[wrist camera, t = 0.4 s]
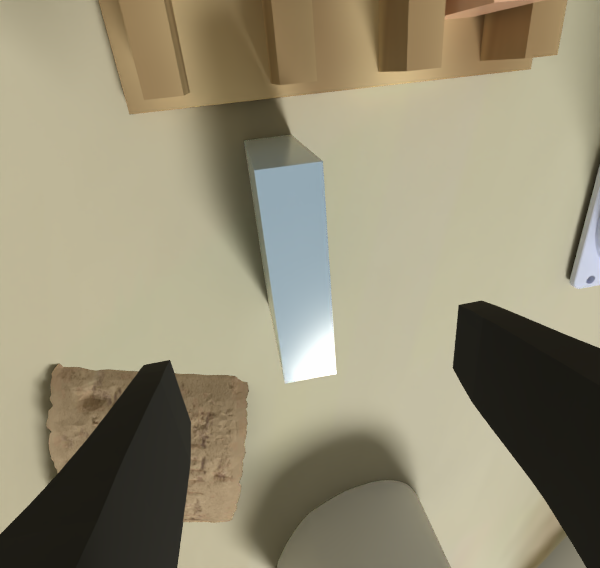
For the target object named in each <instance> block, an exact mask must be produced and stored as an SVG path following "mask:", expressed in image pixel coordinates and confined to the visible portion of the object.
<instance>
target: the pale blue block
mask: <svg viewBox="0 0 600 568" xmlns="http://www.w3.org/2000/svg"><path fill="white" fill-rule="evenodd" d="M244 146H245V152H246V159H247V165H248V172H249V178H250V185H251V192H252V198H253V205H254V211H255V218H256V224H257V231H258V238H259V244H260V251H261V257H262V264H263V271H264V277H265V284H266V290H267V297H268V303H269V309H270V313H271V318H272V323H273V328H274V333H275V338H276V342H277V347H278V352H279V357H280V362H281V367H282V371H283V376H284V381H285V383H290V382H296V381H301V380H306V379H311V378H316V377H322V376H327V375H332V374H336V362H335V346H334V331H333V315H332V299H331V283H330V268H329V252H328V236H327V220H326V204H325V189H324V173H323V161H322V160H321V159H319V158H318V157H317V156H316V155H315V154H314V153H312V152H311V151H310V150H309V149H308V148H306V147H305V146H304V145H303V144H302V143H301V142H299V141H298V140H297V139H296V138H295V137H294V136H292V135H284V136H276V137H268V138H260V139H252V140H244Z"/></svg>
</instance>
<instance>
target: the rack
mask: <svg viewBox="0 0 600 568" xmlns="http://www.w3.org/2000/svg"><path fill="white" fill-rule="evenodd" d="M98 1H99V4H100V8H101V12H102V15H103V19H104V23H105V26H106V30H107V33H108V37H109V41H110V44H111V48H112V52H113V55H114V59H115V63H116V66H117V70H118V74H119V77H120V81H121V85H122V88H123V92H124V96H125V99H126V103H127V107H128V110H129V114H137V113H146V112H155V111H164V110H173V109H182V108H191V107H199V106H208V105H217V104H226V103H235V102H244V101H253V100H262V99H270V98H279V97H288V96H297V95H306V94H315V93H324V92H332V91H341V90H350V89H359V88H368V87H377V86H386V85H394V84H403V83H412V82H421V81H430V80H439V79H448V78H457V77H465V76H474V75H483V74H492V73H501V72H510V71H519V70H527V69H531V64H532V58H533V57H542V56H551V55H557V53H558V48H559V42H560V37H561V32H562V26H563V21H564V16H565V10H566V5H567V0H543V1H539V2H535V3H531V4H526V5H522V6H518V7H513V8H509V9H505V10H500V11H496V12H492V13H488V14H483V15H479V16H475V17H467V18H457V19H447V20H444V19H445V5H446V0H98Z"/></svg>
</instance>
